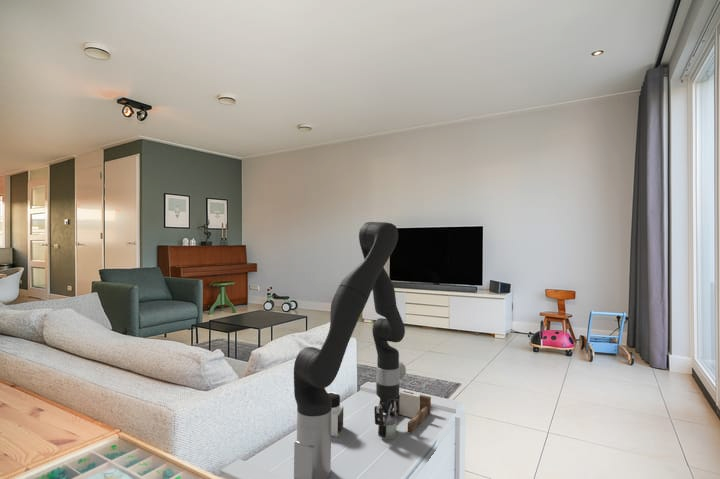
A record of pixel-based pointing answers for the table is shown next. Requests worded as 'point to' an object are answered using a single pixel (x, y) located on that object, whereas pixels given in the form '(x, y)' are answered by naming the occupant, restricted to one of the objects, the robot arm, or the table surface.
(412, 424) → the lane
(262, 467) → the table surface
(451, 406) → the table surface
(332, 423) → the medicine bottle
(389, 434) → the jar
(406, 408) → the pusher plate
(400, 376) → the lollipop
